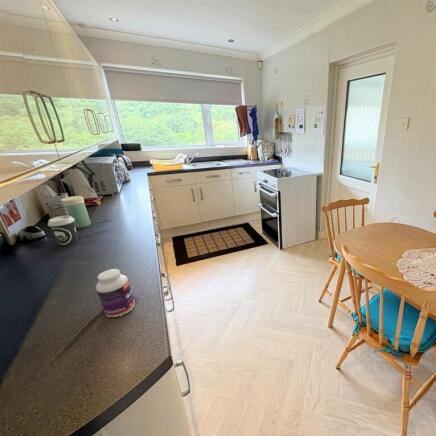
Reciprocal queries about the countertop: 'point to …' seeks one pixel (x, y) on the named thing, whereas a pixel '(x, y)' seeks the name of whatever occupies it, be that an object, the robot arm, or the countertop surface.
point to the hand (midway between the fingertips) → (77, 189)
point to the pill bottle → (114, 293)
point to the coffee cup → (64, 230)
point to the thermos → (78, 215)
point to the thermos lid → (72, 200)
